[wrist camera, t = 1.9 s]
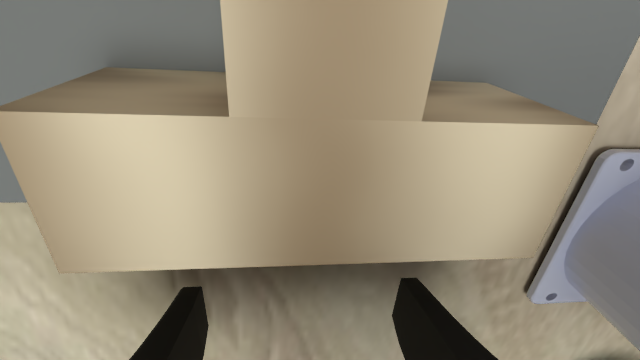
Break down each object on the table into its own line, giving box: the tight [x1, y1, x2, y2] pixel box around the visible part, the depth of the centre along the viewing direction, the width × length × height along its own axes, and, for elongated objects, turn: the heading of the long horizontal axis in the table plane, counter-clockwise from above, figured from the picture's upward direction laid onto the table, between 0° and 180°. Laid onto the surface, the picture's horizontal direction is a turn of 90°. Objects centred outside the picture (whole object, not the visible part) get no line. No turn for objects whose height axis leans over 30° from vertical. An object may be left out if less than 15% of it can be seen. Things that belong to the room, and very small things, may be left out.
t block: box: [0, 0, 599, 273], centre depth 7 cm, size 11×10×4 cm
